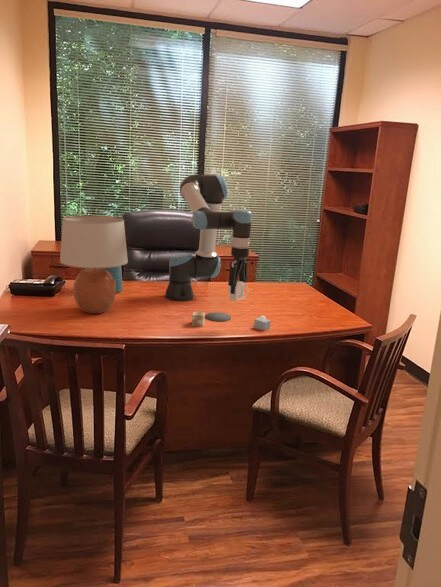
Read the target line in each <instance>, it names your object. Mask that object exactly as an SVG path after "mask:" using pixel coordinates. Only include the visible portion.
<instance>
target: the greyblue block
mask: <svg viewBox="0 0 441 587" xmlns="http://www.w3.org/2000/svg"><path fill="white" fill-rule="evenodd" d="M271 323H272V322H271V319H267V318H266V319H264V318H259V317H257V318H254V322H253V328H254V329H259V330H261V331H264V332H265V331H268V330H270V329H271Z"/></svg>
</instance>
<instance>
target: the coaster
mask: <svg viewBox="0 0 441 587" xmlns="http://www.w3.org/2000/svg"><path fill="white" fill-rule="evenodd" d="M205 318H206V319H207V320H209V321H212V322H228V321H231V319H232V316H231V314H228V313H226V312H216V311H215V312H209V313H205Z"/></svg>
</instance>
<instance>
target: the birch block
mask: <svg viewBox="0 0 441 587" xmlns="http://www.w3.org/2000/svg"><path fill="white" fill-rule="evenodd" d="M205 318H206V312H204V311H201V312H200V311H193V312H192V315H191V326H194V327H203V326H205V322H206V321H205V320H206V319H205Z"/></svg>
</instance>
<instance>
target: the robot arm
mask: <svg viewBox="0 0 441 587" xmlns="http://www.w3.org/2000/svg"><path fill="white" fill-rule="evenodd" d="M179 193H180V196H181V198H182V199H183V200H184V201H186V203H187V204H188V206H189V209H190V210H191V212H192V219H191V222H192V227H193V228H195V229H196V230H197V229H198V230H199V231H200V232H199V243H198V244H199V246H198V250H196V251H195V256H194V255H193V254H192V253H189V252H187V253H186V252H182V253H181V252H180V253H175V254H173V255H171V256H170V257H169V263H168V264H169V265H168V267H169V271H168V272H169V274H168V275H169V276H168V284H167V286H166V287H167V288H166V290H165V294H164V295H165V299H167V300H170V301H176V302H177V301H178V302H184V301H185V302H186V301H191V300H193V299H194V296H195V293H194V290H193V289H194V288H193V287H192V279H210V278H211V279H212V278H215V277H217V276H218V275H219V273H220V269H221V258H220V256H218V253H217V251H216V245H217V235H218V234H217V233H218V230H232V236H231V237H232V238H231V246H232V247H231V252H230V255H231V256H232V257H233V262H232V261H231V262H230V263H229V276H228V280H229V282H228V281H227V286H228V285H229V286H231V289H230V297H229V298H230V299H229V301H232V302H236V301H237V300H236V296H237V286H236V284H237V281H242V282H243V284H246V283H248V268H249V267H248V266H249V264H248V263H249V258H248V257H249V254H250V248H249V247H250V243H251V230H252V221H253V219H252V217H253V216H252V212H251V211H250V210H247V209H235V210H234V211H233V210H228V211H220V206H221V205H223V201H224V200H226V199H227V197H228V184H227V181H226V178H225V177H224V176H223V175H216V174H198V173H197V174H190V175H188V176H186V177H185V178H184V179H183V180H182V181H181V183H180V185H179ZM238 278H239V280H238ZM245 286H246V285H243V286H242V289H241V293H240V296H239V298H242V297H244V296H245ZM244 298H245V297H244Z"/></svg>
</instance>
